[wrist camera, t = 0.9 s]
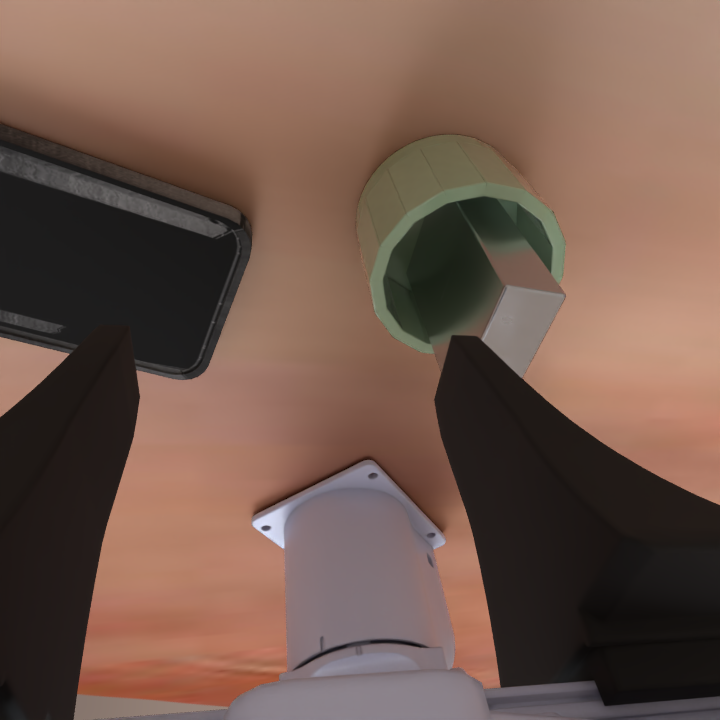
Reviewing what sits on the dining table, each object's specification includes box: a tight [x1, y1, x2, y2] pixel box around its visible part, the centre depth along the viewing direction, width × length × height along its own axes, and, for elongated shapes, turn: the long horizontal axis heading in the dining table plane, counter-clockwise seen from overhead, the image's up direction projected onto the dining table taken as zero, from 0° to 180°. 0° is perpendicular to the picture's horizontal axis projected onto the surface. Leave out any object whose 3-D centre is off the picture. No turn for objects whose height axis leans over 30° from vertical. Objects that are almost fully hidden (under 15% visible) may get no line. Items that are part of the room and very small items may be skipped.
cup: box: [356, 135, 566, 354], centre depth 21 cm, size 6×6×4 cm
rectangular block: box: [406, 196, 566, 378], centre depth 19 cm, size 2×4×8 cm, turn 166°
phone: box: [0, 124, 252, 380], centre depth 21 cm, size 8×1×15 cm
